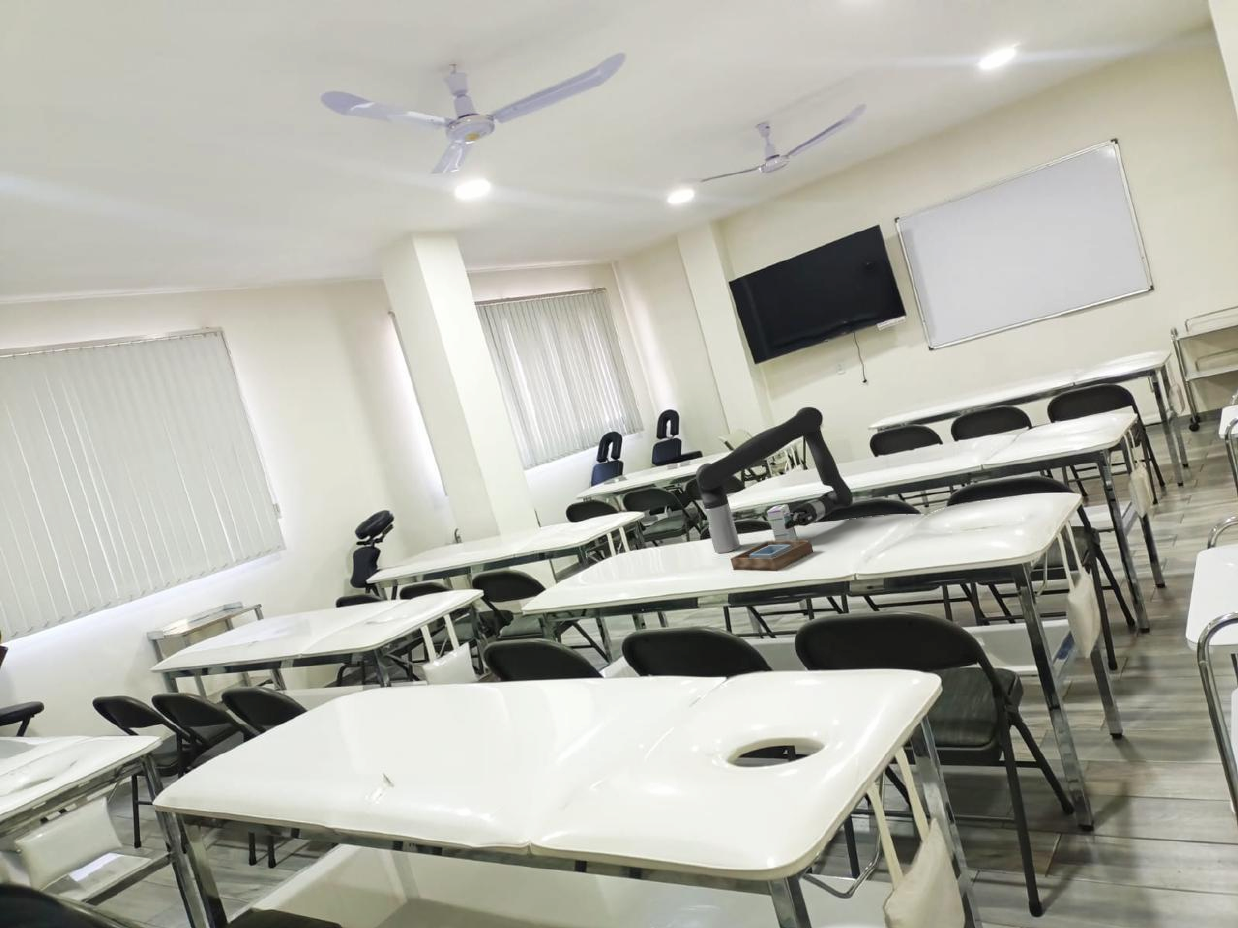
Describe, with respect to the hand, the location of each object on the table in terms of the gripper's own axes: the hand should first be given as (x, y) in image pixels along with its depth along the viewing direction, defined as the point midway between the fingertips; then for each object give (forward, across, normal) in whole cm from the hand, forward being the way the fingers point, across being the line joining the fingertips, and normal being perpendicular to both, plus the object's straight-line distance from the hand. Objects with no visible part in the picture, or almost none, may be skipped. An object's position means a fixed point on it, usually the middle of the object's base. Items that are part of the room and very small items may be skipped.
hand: (778, 526), depth 282 cm
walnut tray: (+13, +7, +8) cm, 17 cm away
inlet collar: (+13, +7, +8) cm, 17 cm away
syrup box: (-2, 0, +8) cm, 8 cm away
